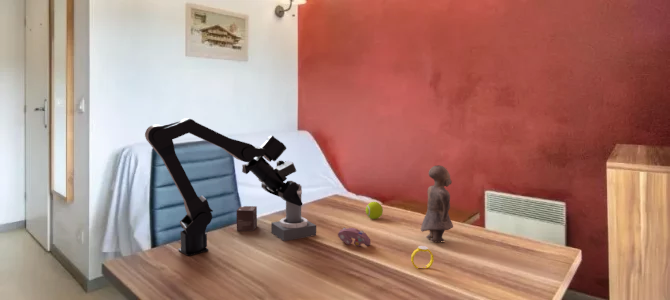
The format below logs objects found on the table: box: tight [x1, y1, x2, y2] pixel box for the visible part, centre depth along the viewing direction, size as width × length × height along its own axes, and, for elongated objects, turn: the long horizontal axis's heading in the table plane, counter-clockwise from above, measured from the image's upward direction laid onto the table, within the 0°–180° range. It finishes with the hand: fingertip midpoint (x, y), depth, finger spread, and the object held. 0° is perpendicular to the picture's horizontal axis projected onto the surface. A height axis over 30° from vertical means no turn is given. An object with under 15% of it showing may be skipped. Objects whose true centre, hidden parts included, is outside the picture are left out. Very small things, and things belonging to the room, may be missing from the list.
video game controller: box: [337, 227, 371, 247], centre depth 127 cm, size 10×5×7 cm
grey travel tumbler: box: [285, 183, 303, 223], centre depth 136 cm, size 5×5×14 cm
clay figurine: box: [420, 165, 454, 243], centre depth 131 cm, size 13×10×25 cm
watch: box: [410, 245, 435, 269], centre depth 110 cm, size 6×3×6 cm, turn 96°
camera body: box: [270, 216, 317, 242], centre depth 136 cm, size 12×10×5 cm
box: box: [236, 205, 258, 232], centre depth 142 cm, size 6×6×7 cm
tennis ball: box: [365, 201, 384, 220], centre depth 157 cm, size 7×7×7 cm
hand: (295, 202), depth 136 cm, fingers open, 9 cm apart
